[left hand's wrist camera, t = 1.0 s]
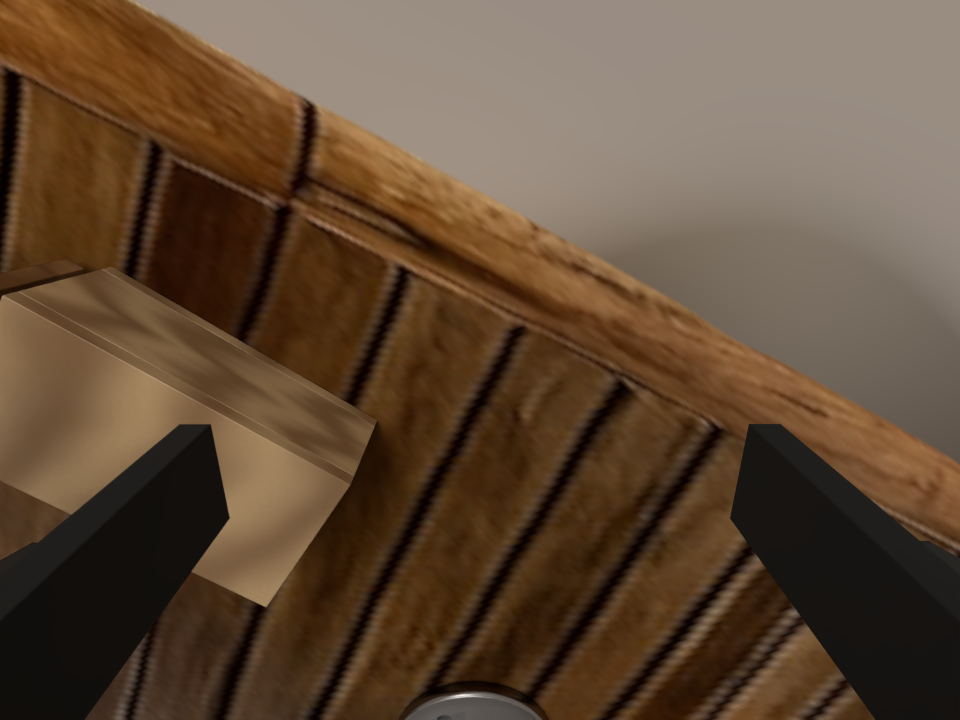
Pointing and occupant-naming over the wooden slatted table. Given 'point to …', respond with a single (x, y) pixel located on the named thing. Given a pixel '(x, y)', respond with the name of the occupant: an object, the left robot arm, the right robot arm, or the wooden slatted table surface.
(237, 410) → the cabinet
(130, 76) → the wooden slatted table surface
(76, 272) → the drawer
